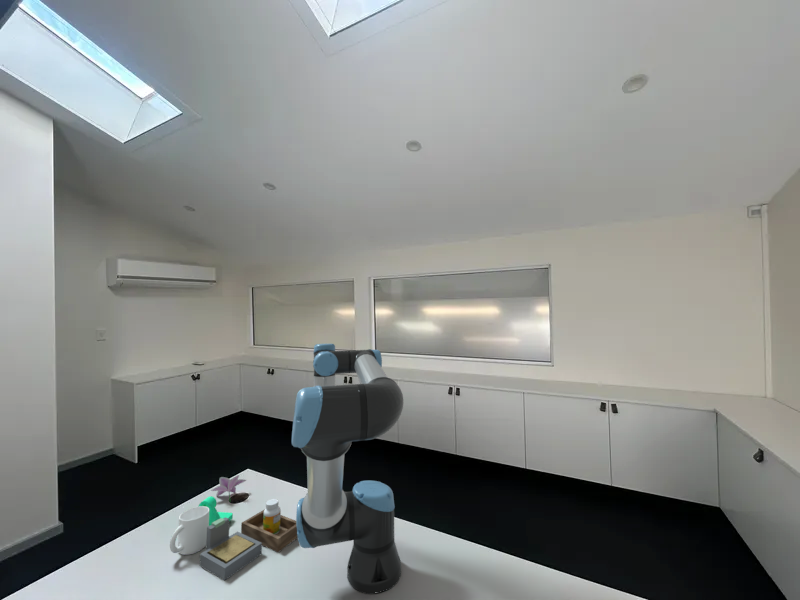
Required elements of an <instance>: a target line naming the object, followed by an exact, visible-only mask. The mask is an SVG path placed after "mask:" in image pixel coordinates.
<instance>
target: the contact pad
mask: <svg viewBox="0 0 800 600" xmlns="http://www.w3.org/2000/svg"><path fill="white" fill-rule="evenodd" d="M252 546H254V543H252V542H250V541H248V540H246V539H244V538H242V537H239V536H237V535H235V536H233V537H232V538H230V539H228V540H227V541H225V542H224V543H222V544H220V545H219V546H217V547H215V548H214V549H212V550H210V551H209V555H211V556H213V557H215V558H217V559H218V560H220V561H222V562H224V563H225V564H227V563H228V562H230V561H231V560H233V559H234V558H236V557H237V556H239V555H240V554H242V553H243V552H245V551H246V550H248V549H249V548H251V547H252Z"/></svg>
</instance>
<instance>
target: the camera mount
mask: <svg viewBox="0 0 800 600" xmlns="http://www.w3.org/2000/svg"><path fill="white" fill-rule="evenodd" d="M217 503H218V501H217V499H216V498H215V497H214V496H211V495H210V496H207V497H206V498H205V499H203V500H202V501H201V502H200V503H199V504H198V505H197V507H199V506H206V507H208V508H209V526H210V525H212V523H213V522H214V521H216V520H218V519H220V518H222V519H223V518H225V517H226V518H228V519H229V522H230V521H232V520H233V512H228V511H227V512H226V511H224V512H223V511H217V508H216V506H217Z"/></svg>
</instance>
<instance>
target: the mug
mask: <svg viewBox="0 0 800 600" xmlns="http://www.w3.org/2000/svg"><path fill="white" fill-rule="evenodd" d="M198 506H199V505H198ZM198 506H194V507H191V508H188V509H187V510H185V511H183V512H182V513H180V515H179V516H178V527H177V528H176V529H175V530H174V531H173V533H172V535H171V538H170V541H169V548H170V552H172V553H173V554H177V553H179V554H180V555H184V556H188V555H192V554H193V555H194V554H196V553H197V552H200V551H201V550H202V551H203V549H204V548H206V539H207V527H208V526H209V508H208V507H206V506H199V507H198ZM176 540H178V541H177V546H176Z"/></svg>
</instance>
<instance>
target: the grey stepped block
mask: <svg viewBox="0 0 800 600" xmlns="http://www.w3.org/2000/svg"><path fill="white" fill-rule="evenodd" d="M235 535H237V536H239V537H242V538H244V539H246V540H248V541H250V542H252V543H254V546H252V547H251V548H249V549H248V550H246V551H245V552H243V553H242V554H240V555H239V556H237V557H236V558H234V559H233V560H231V561H230V562H228V563H227V564H225V563H224V562H222V561H220V560H218V559H217V558H215V557H213V556H211V555H209V551H210V550H212V549H214V548H215V547H217V546H219V545H220V544H222V543H224V542H225V541H227V540H228V539H230V538H232V537H233V536H235ZM262 553H263V545H262V543H261V542H259V541H257V540H255V539H253V538H250V537H248V536H246V535H244V534H242V533H241V531H240V532H239V531H236V532H235V533H233V534H231V535H230V521H229V519H228V518H226V517H225V518H223V519H222V518H220V519H218V520H216V521H214V522H213V523H212V525H210V526H208V527H207V539H206V546H205V550H204V551H202V552H201V553H199V566H200V567H201V568H202V569H204V570H206V571H208V572H210V573H211V574H213V575H214V576H216V577H218V578H219V579H221V580H223V581H226V580H227V579H229V578H230V577H231V576H233V575H234V574H236V573H237V572H238V571H240V570H241V569H243V568H244V567H245V566H248V564H249V563H251V562H253V561H254V560H256V558H258V557H260V556H261V555H263V554H262Z"/></svg>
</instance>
